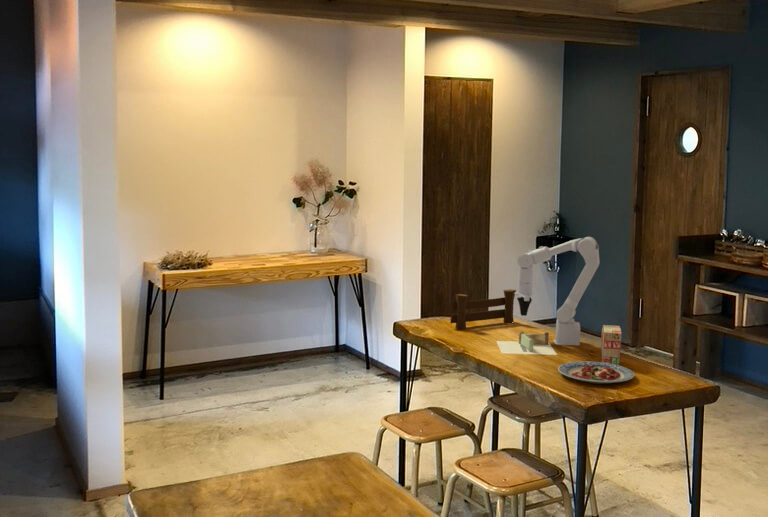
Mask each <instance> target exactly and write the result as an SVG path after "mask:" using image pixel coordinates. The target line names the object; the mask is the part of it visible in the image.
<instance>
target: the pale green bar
mask: <svg viewBox="0 0 768 517" xmlns="http://www.w3.org/2000/svg"><path fill="white" fill-rule="evenodd" d="M525 334H526V333H524V334H521V344H522V345H523V346H524V347H525V348H527V349H528V350H529V351H533V339H530V338H528V337H527V336H526V335H525Z"/></svg>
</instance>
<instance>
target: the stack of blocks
mask: <svg viewBox="0 0 768 517" xmlns="http://www.w3.org/2000/svg"><path fill="white" fill-rule="evenodd" d="M622 336H623V335H622V329H621V327H620V325H611V324H610V325H607V324H603V325H602V327H601V337H600V338H601V342H600V354H601V362H602V363H609V364H614V365H619V366H620V362H621V360H620V358H621V349H622V348H621V347H622Z"/></svg>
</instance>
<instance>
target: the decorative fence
mask: <svg viewBox="0 0 768 517" xmlns="http://www.w3.org/2000/svg"><path fill="white" fill-rule="evenodd" d="M516 290H517V289H503V291H502V292H503V295H504V297H497V298H488V299H478V300H468V297H469V294H463V293H462V294H461V293H457V294H455V299H456V300H455V301H450V310H456V313H451V314H450V324H455V328H454V329H456V330H459V331H460V330H461V331H462V330H463V331H465V330H467V323H468V322H469V323H470V322H479V321H487V320H488V321H489V320H496V319H497V320H499V319H503V322H504V323H512V322H514V301H515V296H516V295H515V293H517V291H516ZM499 306H501V307H502V306H504V308H502V309H501V308H500V309H492V310H491V309H490V310H482V311H473V312H466V311H467V310H475V309H483V308H484V309H486V308H495V307H499ZM504 323H503V324H504ZM514 323H515V322H514ZM512 324H513V323H512Z"/></svg>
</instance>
